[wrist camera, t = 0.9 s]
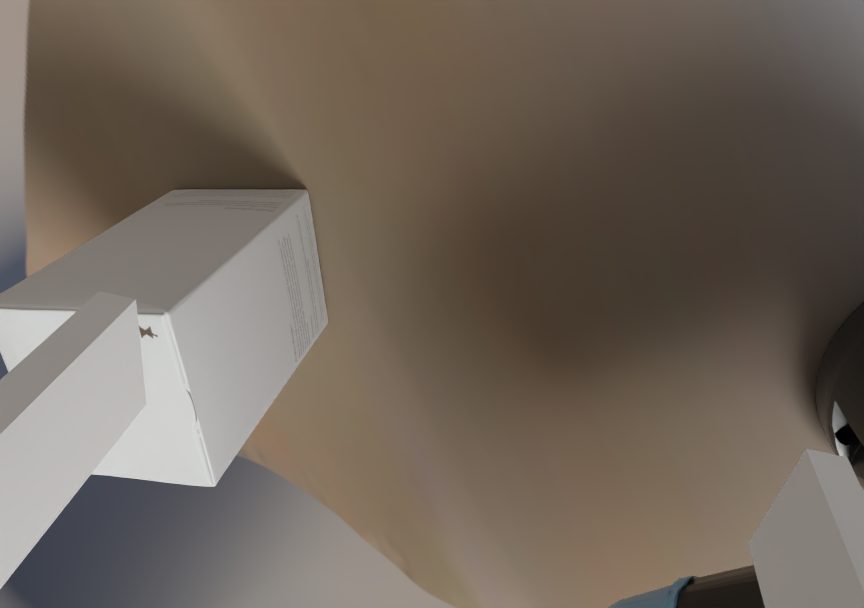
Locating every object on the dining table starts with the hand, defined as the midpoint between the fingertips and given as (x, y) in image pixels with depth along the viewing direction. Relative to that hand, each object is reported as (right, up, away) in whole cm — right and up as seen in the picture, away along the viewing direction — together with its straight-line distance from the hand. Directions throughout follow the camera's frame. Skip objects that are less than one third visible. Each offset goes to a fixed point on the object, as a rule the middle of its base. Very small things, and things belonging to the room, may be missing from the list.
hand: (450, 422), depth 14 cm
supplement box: (-11, +5, +29) cm, 31 cm away
